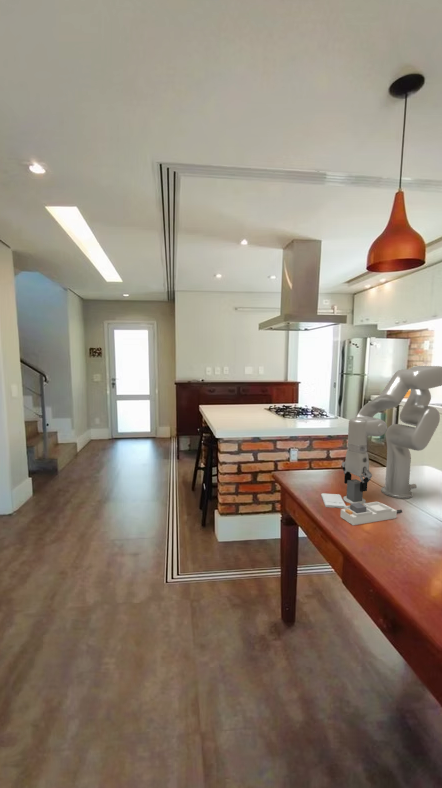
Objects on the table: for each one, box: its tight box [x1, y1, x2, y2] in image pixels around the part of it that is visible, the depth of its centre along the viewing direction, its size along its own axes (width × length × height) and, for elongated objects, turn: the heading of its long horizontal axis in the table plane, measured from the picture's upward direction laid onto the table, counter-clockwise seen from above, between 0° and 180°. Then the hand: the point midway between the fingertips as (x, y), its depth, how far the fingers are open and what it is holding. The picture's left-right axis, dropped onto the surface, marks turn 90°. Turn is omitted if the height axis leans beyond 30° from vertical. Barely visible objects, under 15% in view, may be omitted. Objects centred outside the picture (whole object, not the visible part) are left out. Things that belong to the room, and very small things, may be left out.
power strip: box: [339, 501, 403, 526], centre depth 129 cm, size 26×7×5 cm, turn 108°
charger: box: [346, 478, 364, 502], centre depth 144 cm, size 4×4×8 cm
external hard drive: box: [320, 492, 347, 509], centre depth 143 cm, size 2×8×12 cm
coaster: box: [342, 495, 367, 505], centre depth 145 cm, size 9×9×1 cm
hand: (355, 487), depth 144 cm, fingers open, 9 cm apart
